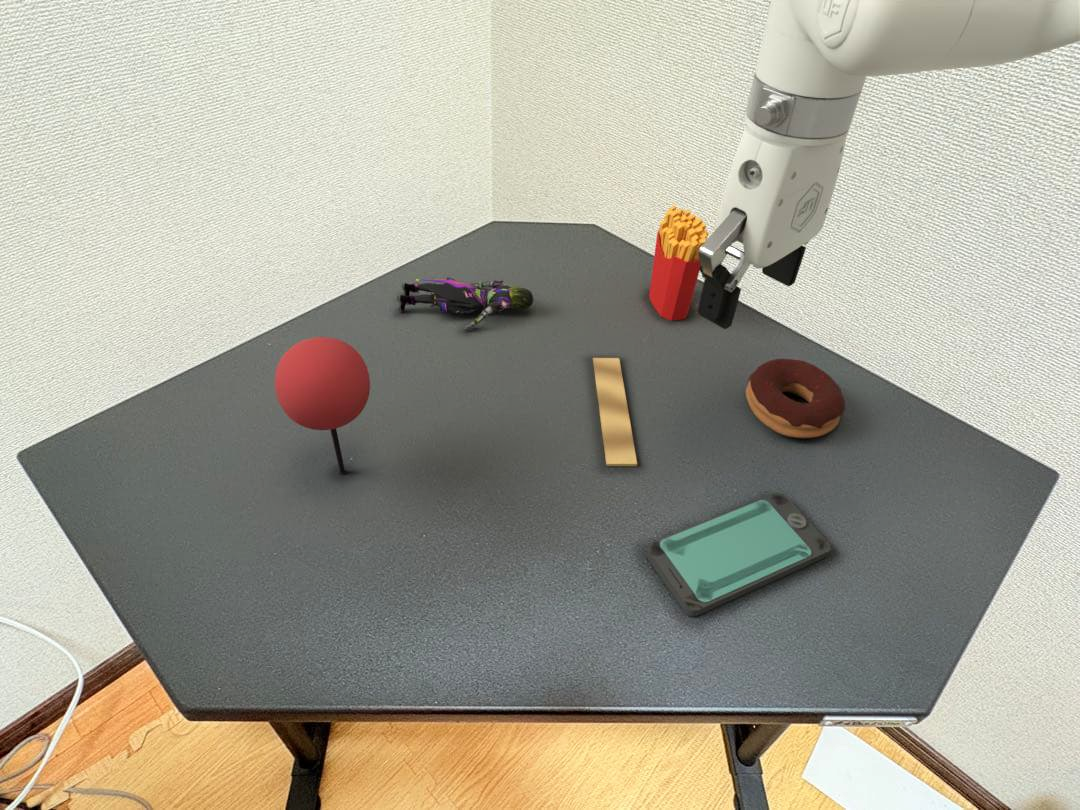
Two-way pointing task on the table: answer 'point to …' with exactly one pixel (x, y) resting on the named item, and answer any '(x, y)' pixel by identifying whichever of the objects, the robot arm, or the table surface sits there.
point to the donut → (792, 414)
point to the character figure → (466, 297)
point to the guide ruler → (614, 413)
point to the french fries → (676, 263)
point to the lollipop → (323, 386)
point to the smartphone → (736, 553)
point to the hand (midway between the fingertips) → (746, 298)
